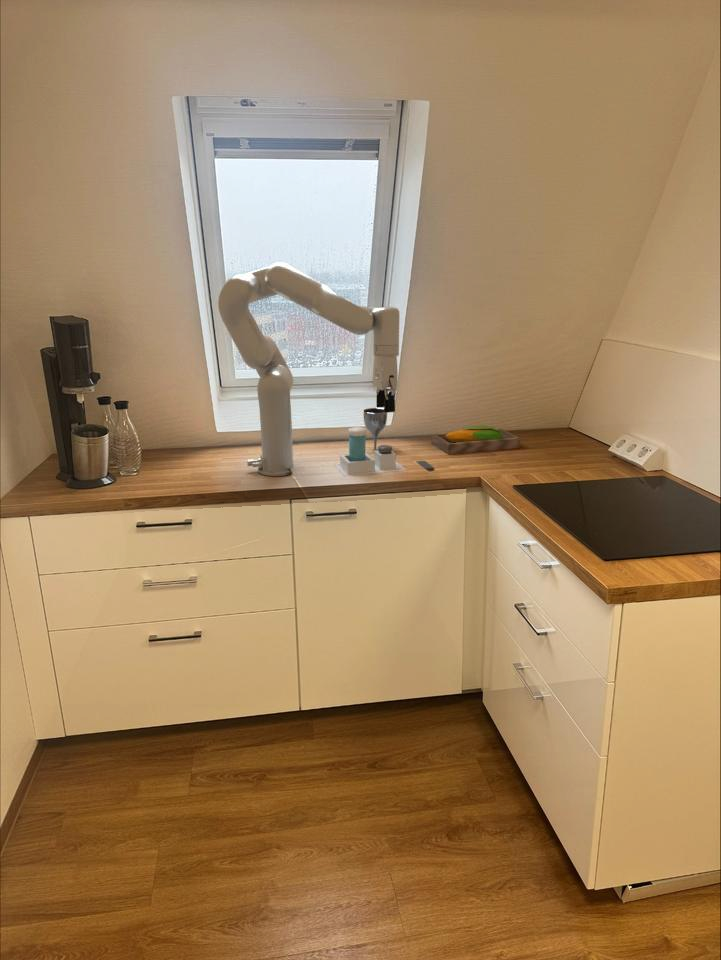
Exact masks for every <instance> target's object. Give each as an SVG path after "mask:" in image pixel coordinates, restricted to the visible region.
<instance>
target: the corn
mask: <svg viewBox="0 0 721 960" xmlns="http://www.w3.org/2000/svg"><path fill="white" fill-rule="evenodd" d="M461 428H463V429H461V430H454V431H452V432H451V431H450V432H448V433H449V434H447V435H446V438H447V439H448V440H450V441H453V442H456V443H460V442H471V441H483V440H495V439H502V438H503V436H502V434H501V433H500V431H498V430H497V429H498V428H496V427H493V426H489V425H469V426H461ZM465 428H466V429H465ZM496 430H497V431H496Z"/></svg>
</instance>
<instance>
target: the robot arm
mask: <svg viewBox="0 0 721 960" xmlns="http://www.w3.org/2000/svg"><path fill="white" fill-rule="evenodd" d="M277 295H279V296H281V297H283V298H284V299H286V300H289V301H290V302H293V303H295V304H296V305H299V306H300V307H303V308H305V309H306V310H308V311H310V312H312V313H313V314H315V315H316V316H319V317H321V318H323V319H325V320H327V321H328V322H330V323H332V324H334V325H335V326H338V327H339V328H341V329H344V330H345V331H348V332H349V333H351V334H354V335H357V336H364V335H367V334H368V333H369V332H370V331H373V356H374V358H373V369H372V385H373V386H374V387H376V390H375V392H376V393H375V394H376V408H383V409H384V412H385V413H387V414H388V413H394V412H395V411H396V395H397V393H396V392H397V389H398V379H399V377H398V357H399V356H400V310H399V308H397V307H393V306H380V307H372V306H371V307H370V306H363V305H357V304H355V303H354V302H351V301H349V300H347V299H346V298H344V297H342V296H340V295H339V294H337V293H336V292H334V291H333V289H331V288H330V287H329V286H327V285H326V284H324V283H323V282H321V281H319V280H317V279H315V278H313V277H311V276H309V275H307V274H305V273H303V272H302V271H299V270H298V269H296V268H294V267H293V266H292V265H290V263H287V262H284V261H283V262H274V263H273V264H271V265H270V266H266V267H262V268H260V269H256V270H252V271H250V272H245V273H241V274H234V275H233V276H231V277H230V278H228V279H227V281H226V282H225V283H224V285H223V286H222V288H221V290H220V293H219V296H218V301H217V302H218V304H217V305H218V312H219V315H220V318H221V319H222V323H223V325H224V326H225V328H226V329H227V332H228V333H229V335H230V337H231V339H232V342H233V343H234V345H235V346H236V348H237V350H238V352H239V354H240V356H241V358H242V359H243V362H244V363H245V365H246V366H248V367H249V368H250V369H254V370H255V371H256V373H257V374H258V376H259V379H258V383H257V390H256V391H257V399H258V407H259V421H260V423H259V424H260V441H261V455H259V457H257V458H256V459H247V463H246V465H247V467H252V468H257V472H258V473H259V474H260V475H264V476H268V477H283V476H288V475H289V476H290V475H292V474H293V472H292V470H291V468H293V467H294V454H293V453H294V451H293V422H292V406H291V390H292V388H293V384H294V379H293V378H294V376H293V374H292V371H291V369H290V368H289V366H288V364H287V362H286V360H285V358H284V356H283V354H282V353H281V351H280V349H279V347H278V346H277V344H276V342H275V341H274V340H273V339H272V338H271V337H270V336H269V335H267V334H265V333H263V332H262V331H261V329H260V327H259V325H258V323H257V321H256V319H255V317H254V316H253V314H252V313H251V311H250V308H249V304H251V303H254V302H257V301H260V300H265V299H268V298H270V297H271V298H272V297H274V296H277Z"/></svg>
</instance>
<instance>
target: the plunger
mask: <svg viewBox="0 0 721 960" xmlns="http://www.w3.org/2000/svg"><path fill="white" fill-rule="evenodd" d="M377 451H379V452H381V454H389V452H392V451H393V446H392V445H388V444H381V445H378V446H377Z"/></svg>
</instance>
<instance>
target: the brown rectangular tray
mask: <svg viewBox="0 0 721 960" xmlns="http://www.w3.org/2000/svg"><path fill="white" fill-rule="evenodd" d="M496 429H497V430H498V431H500V433H501V434H502V436H503V438H502V439H495V440H483V441H471V442H460V443H457V442H456V443H453V441H450V440H448V439H447V438H446V435H447V434H449V433H450V432H441V433H432V434H431V445H433V446H434V445H435V446H434V447H436V448H437V447H438V448H437V449H439V450H441V452H444V454H446V455H455V454H457V453H458V454H466V453H468V454H469V453H477V452H478V453H480V452H479V451H481V452H489V451H491V450H492V451H500V449H501V451H502V449H503V450H512V449H513V448H514V449H520V448H521V439H522V438H521V437H519V436H517V435H514V434H513V433H511V432H509V431H506V430H504V428H503V429H502V428H496ZM497 430H496V431H497ZM458 454H457V455H458Z"/></svg>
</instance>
